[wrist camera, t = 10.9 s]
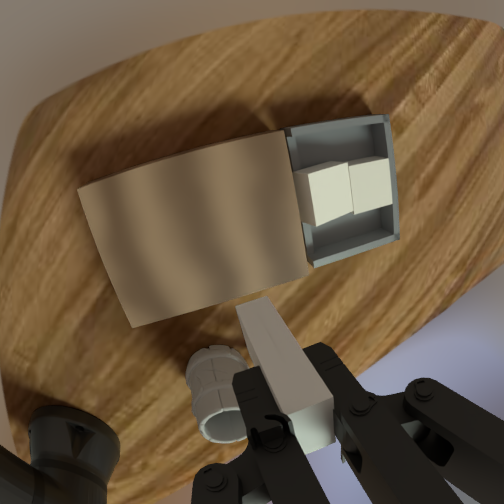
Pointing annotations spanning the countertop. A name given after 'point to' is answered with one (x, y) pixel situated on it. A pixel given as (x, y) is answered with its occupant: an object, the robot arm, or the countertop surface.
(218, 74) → the countertop surface
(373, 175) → the tile
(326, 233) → the tray
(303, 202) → the tile
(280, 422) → the robot arm
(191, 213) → the board
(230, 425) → the mug
